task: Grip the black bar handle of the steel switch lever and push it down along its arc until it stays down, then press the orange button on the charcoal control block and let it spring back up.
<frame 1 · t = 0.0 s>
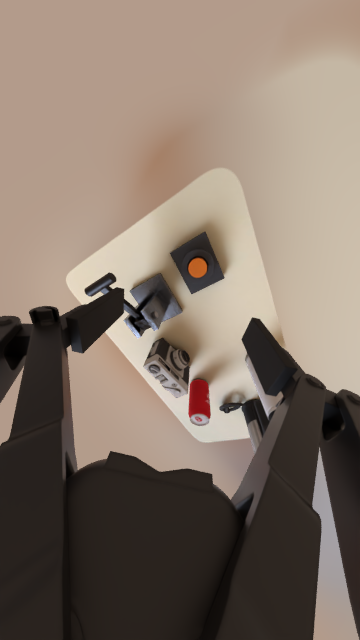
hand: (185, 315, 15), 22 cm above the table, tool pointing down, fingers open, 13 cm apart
camera: (176, 353, 47), on the table
switch lever: (126, 306, 26), point 13 cm above the table, hinge at 25.0°
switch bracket: (157, 300, 39), on the table
cancel button: (197, 267, 30), point 4 cm above the table, slide at 0.1 cm
milk frother: (243, 405, 55), on the table
control block: (197, 264, 34), on the table
beverage can: (199, 383, 52), on the table
travel mug: (255, 357, 44), on the table
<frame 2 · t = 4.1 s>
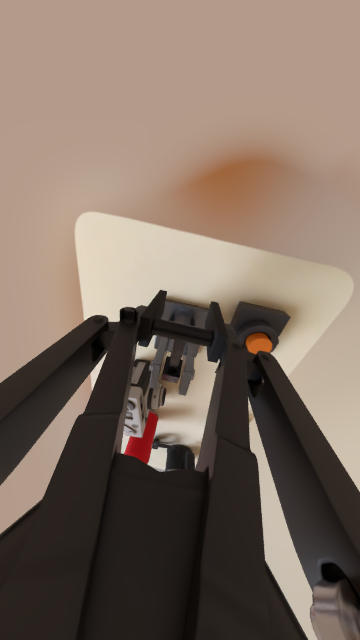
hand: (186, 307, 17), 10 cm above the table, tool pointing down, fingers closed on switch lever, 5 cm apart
camera: (151, 380, 39), on the table
switch lever: (175, 356, 17), point 13 cm above the table, hinge at 25.0°, touching gripper
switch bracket: (180, 328, 30), on the table
cancel button: (258, 344, 25), point 4 cm above the table, slide at 0.1 cm
milk frother: (171, 445, 54), on the table
control block: (250, 330, 29), on the table
beverage can: (148, 413, 46), on the table
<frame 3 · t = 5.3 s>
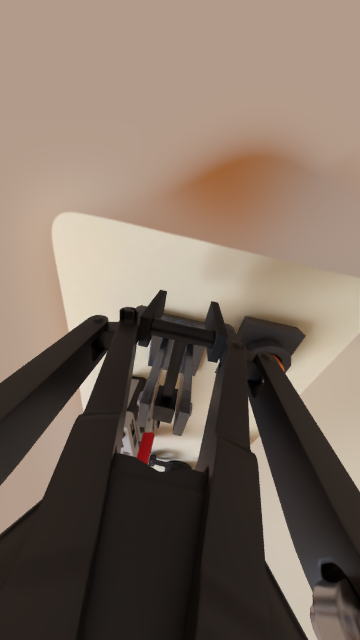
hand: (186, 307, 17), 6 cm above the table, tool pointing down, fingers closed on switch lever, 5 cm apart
camera: (146, 397, 35), on the table
switch lever: (171, 376, 15), point 11 cm above the table, hinge at 0.8°, touching gripper
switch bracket: (177, 344, 27), on the table
cancel button: (267, 367, 21), point 4 cm above the table, slide at 0.1 cm
control block: (256, 347, 25), on the table
beverage can: (144, 430, 43), on the table
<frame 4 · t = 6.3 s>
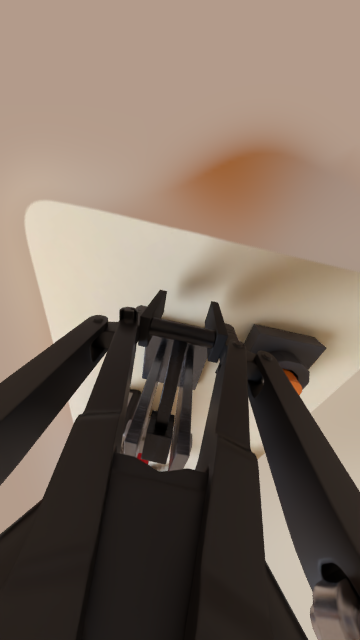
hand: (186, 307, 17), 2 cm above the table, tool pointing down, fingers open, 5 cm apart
camera: (141, 411, 32), on the table
switch lever: (168, 391, 13), point 10 cm above the table, hinge at -17.7°
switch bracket: (175, 354, 23), on the table
cancel button: (280, 385, 18), point 4 cm above the table, slide at 0.1 cm
control block: (266, 358, 22), on the table
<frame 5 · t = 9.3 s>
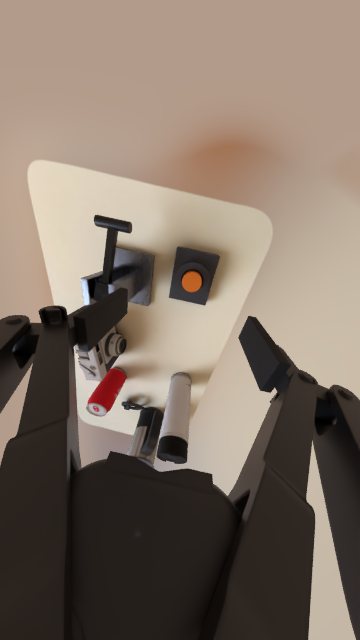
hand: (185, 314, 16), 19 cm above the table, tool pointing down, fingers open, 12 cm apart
camera: (115, 336, 42), on the table
switch lever: (109, 262, 23), point 10 cm above the table, hinge at -17.7°
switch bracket: (132, 277, 33), on the table
cancel button: (191, 281, 28), point 4 cm above the table, slide at 0.1 cm
milk frother: (144, 408, 57), on the table
control block: (192, 276, 32), on the table
beverage can: (118, 373, 49), on the table
travel mug: (181, 378, 47), on the table
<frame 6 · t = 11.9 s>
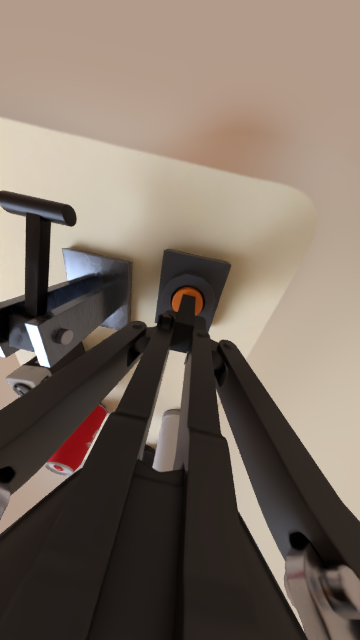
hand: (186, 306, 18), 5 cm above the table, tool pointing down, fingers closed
camera: (88, 365, 32), on the table
switch lever: (37, 278, 13), point 10 cm above the table, hinge at -17.7°
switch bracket: (102, 292, 23), on the table
cancel button: (187, 301, 18), point 4 cm above the table, slide at -0.5 cm, touching gripper
control block: (189, 292, 22), on the table
beverage can: (97, 406, 39), on the table
travel mug: (175, 415, 37), on the table
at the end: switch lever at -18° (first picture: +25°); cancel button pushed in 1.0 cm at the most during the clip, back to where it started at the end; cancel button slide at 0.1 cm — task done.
